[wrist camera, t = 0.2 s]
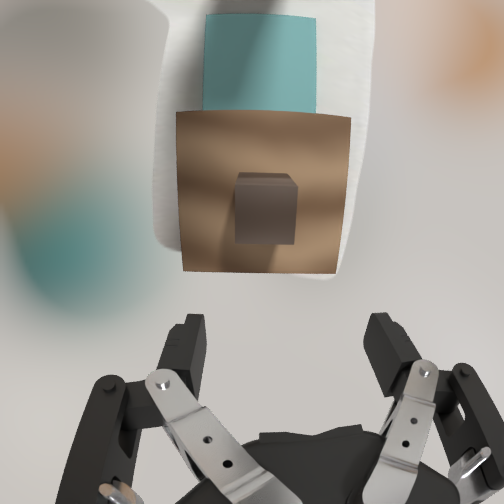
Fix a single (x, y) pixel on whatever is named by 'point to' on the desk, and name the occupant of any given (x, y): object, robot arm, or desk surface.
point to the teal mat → (260, 63)
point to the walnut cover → (261, 190)
